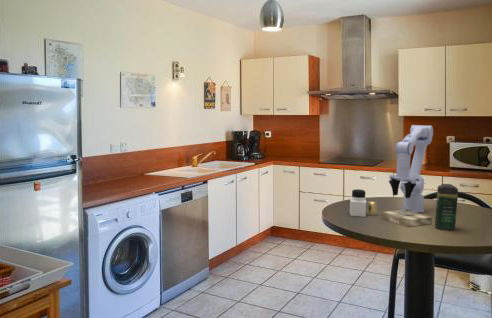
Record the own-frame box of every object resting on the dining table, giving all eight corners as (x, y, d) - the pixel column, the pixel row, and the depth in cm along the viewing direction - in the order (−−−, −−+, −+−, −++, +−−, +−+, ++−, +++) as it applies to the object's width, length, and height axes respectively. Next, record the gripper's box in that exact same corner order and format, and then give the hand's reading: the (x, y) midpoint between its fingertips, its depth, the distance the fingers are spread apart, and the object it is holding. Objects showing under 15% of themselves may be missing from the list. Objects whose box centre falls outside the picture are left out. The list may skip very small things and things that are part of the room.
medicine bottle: (366, 217, 204) (367, 191, 202) (350, 216, 205) (351, 190, 204) (365, 213, 211) (366, 188, 209) (349, 212, 212) (350, 188, 211)
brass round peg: (372, 213, 212) (372, 201, 211) (378, 215, 208) (378, 202, 208) (365, 214, 210) (366, 201, 210) (371, 215, 207) (372, 203, 206)
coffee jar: (456, 231, 181) (459, 186, 179) (435, 229, 184) (438, 185, 182) (453, 225, 190) (456, 183, 188) (434, 224, 193) (436, 182, 191)
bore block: (403, 215, 208) (403, 209, 207) (431, 223, 193) (431, 217, 193) (381, 218, 201) (381, 212, 201) (408, 226, 187) (408, 219, 187)
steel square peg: (405, 219, 200) (405, 206, 199) (411, 222, 196) (412, 208, 196) (398, 220, 198) (399, 207, 197) (405, 222, 194) (405, 209, 194)
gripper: (385, 166, 209) (383, 194, 210) (409, 169, 196) (407, 199, 197) (396, 165, 212) (394, 193, 213) (420, 169, 199) (418, 198, 201)
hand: (401, 196), depth 206 cm, fingers open, 7 cm apart
